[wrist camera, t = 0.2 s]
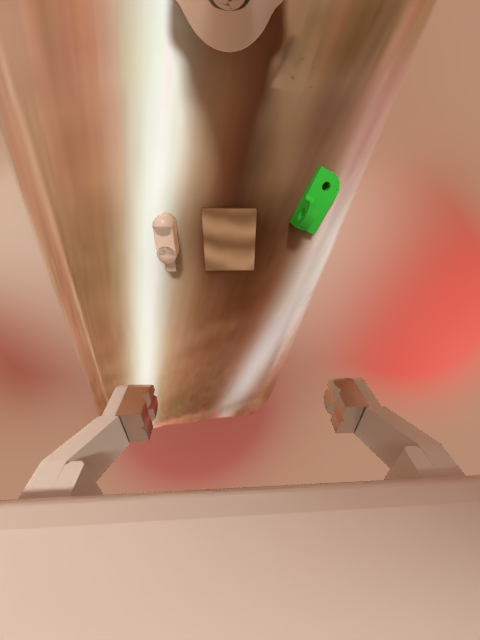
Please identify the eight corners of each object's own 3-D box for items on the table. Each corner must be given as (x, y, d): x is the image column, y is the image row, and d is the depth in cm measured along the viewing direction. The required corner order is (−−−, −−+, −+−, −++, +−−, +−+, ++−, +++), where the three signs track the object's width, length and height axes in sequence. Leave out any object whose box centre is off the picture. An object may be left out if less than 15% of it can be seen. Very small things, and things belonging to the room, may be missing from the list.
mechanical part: (310, 232, 58) (322, 241, 51) (289, 221, 56) (298, 229, 50) (341, 179, 52) (358, 182, 46) (318, 166, 51) (332, 166, 44)
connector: (156, 212, 54) (150, 216, 49) (174, 212, 54) (170, 216, 50) (165, 266, 60) (160, 274, 56) (181, 266, 61) (178, 274, 56)
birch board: (201, 207, 54) (201, 208, 52) (256, 208, 54) (256, 209, 53) (205, 268, 61) (205, 270, 60) (253, 268, 62) (253, 270, 61)
